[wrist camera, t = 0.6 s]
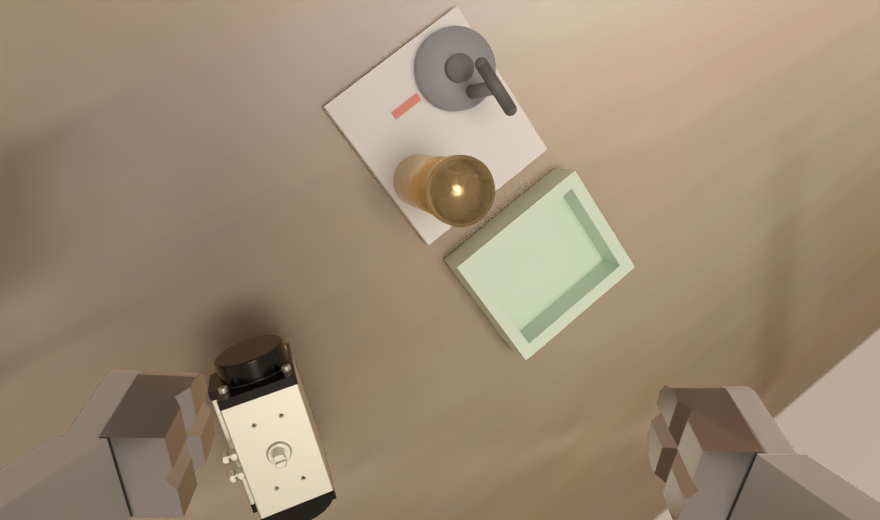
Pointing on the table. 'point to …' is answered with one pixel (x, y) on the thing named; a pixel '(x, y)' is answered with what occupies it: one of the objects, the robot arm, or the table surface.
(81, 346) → the table surface
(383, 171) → the crank jig
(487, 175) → the amber drinking glass
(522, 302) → the tray
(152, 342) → the table surface
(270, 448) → the pneumatic valve
